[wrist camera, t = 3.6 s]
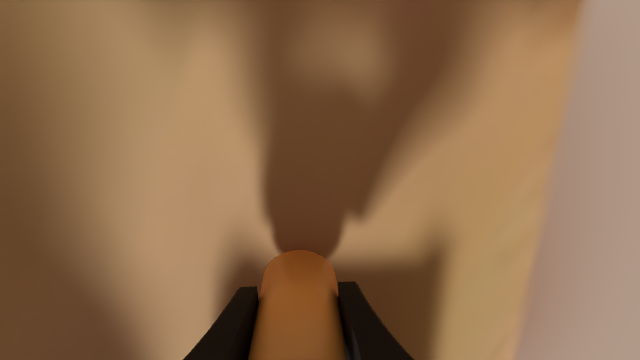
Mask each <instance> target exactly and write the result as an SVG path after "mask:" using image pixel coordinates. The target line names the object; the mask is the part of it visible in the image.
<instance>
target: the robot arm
mask: <svg viewBox="0 0 640 360" xmlns="http://www.w3.org/2000/svg"><path fill="white" fill-rule="evenodd" d="M338 295H339V305H340V312H341V319H342V325H343V332H344V339H345V346H346V354H347V360H414V359H413V358H412V357H411V356H410V355H409V354H408V353H407V352H406V351H405V350H404V348H403V347H402V346H401V345H400V344H399V343H398V342H397V341H396V339H395V338H394V337H393V336H392V334H391V333H390V332H389V331H388V330H387V328H386V327H385V326H384V324H383V323H382V322H381V320H380V319H379V318H378V316H377V315H376V313H375V312H374V311H373V309H372V308H371V306H370V305H369V303H368V301H367V300H366V298H365V297H364V295H363V293H362V292H361V290H360V288H359V286H358V284H357V283H356V282H338ZM258 302H259V301H258V292H257V286H255V287H240V288H239V289H238V290H237V292H236V293H235V295H234V296H233V298H232V299H231V301H230V302H229V303H228V305H227V306H226V308H225V309H224V310H223V312H222V313H221V315H220V316H219V317H218V319H217V320H216V321H215V322H214V324H213V325H212V326H211V328H210V329H209V330H208V332H207V333H206V334H205V335H204V336H203V338H202V339H201V340H200V341H199V342H198V343H197V345H196V346H195V347H194V348H193V349H192V350H191V352H190V353H189V354H188V355H187V356H186V357H185V358H184V359H183V360H248V356H249V351H250V345H251V340H252V335H253V329H254V324H255V318H256V313H257V308H258Z"/></svg>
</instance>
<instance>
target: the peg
mask: <svg viewBox="0 0 640 360" xmlns="http://www.w3.org/2000/svg"><path fill="white" fill-rule="evenodd" d="M248 360H347V354H346V346H345V339H344V332H343V325H342V319H341V312H340V305H339V295H338V288H337V281H336V275H335V271H334V269H333V267H332V265H331V264H330V263H329V262H328V261H327V260H326V259H325V258H324V257H323V256H321V255H319V254H317V253H315V252H311V251H307V250H293V251H288V252H285V253H283V254H280V255H279V256H277V257H276V258H274V259H273V260H272V261H271V262H270V263H269V265H268V266H267V268H266V269H265V272H264V275H263V281H262V286H261V292H260V297H259V302H258V308H257V313H256V318H255V324H254V329H253V335H252V340H251V345H250V351H249V356H248Z"/></svg>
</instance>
